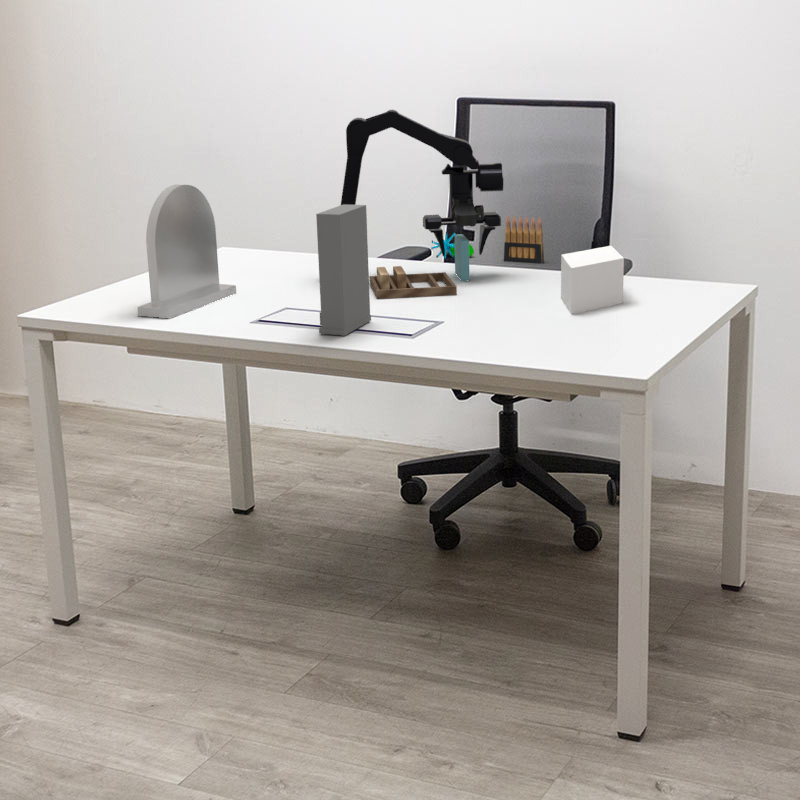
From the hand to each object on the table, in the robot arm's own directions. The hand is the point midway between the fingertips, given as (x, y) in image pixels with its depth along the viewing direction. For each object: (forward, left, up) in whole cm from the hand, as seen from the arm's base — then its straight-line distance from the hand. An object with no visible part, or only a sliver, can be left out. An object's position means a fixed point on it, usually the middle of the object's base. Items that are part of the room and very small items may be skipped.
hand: (462, 255), depth 309 cm
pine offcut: (-21, -12, -6) cm, 25 cm away
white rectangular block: (+24, -34, -6) cm, 42 cm away
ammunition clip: (+19, +16, -6) cm, 25 cm away
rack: (-14, -12, -5) cm, 19 cm away
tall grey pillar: (-33, -48, -6) cm, 58 cm away
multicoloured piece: (+2, +29, -6) cm, 30 cm away
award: (-67, -16, -6) cm, 69 cm away
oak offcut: (-17, -12, -6) cm, 22 cm away
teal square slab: (0, 0, -6) cm, 6 cm away
